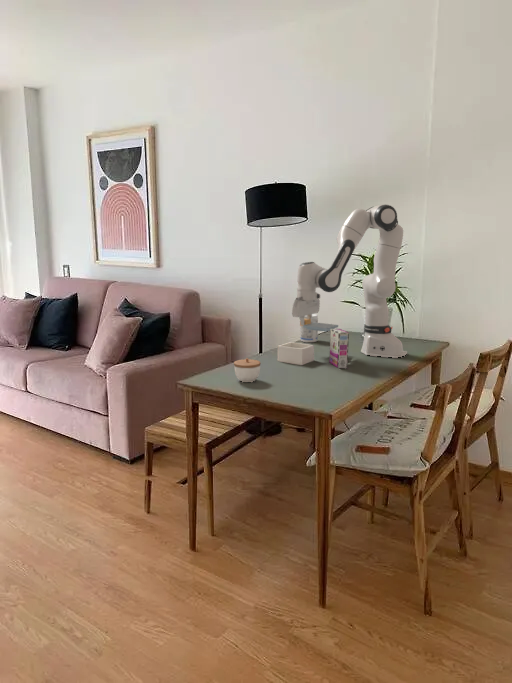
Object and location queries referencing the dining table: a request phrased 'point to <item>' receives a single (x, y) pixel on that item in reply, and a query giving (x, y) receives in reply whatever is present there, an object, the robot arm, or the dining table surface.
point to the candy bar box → (339, 348)
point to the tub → (295, 353)
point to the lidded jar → (247, 369)
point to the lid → (318, 326)
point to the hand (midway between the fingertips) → (305, 324)
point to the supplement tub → (309, 331)
